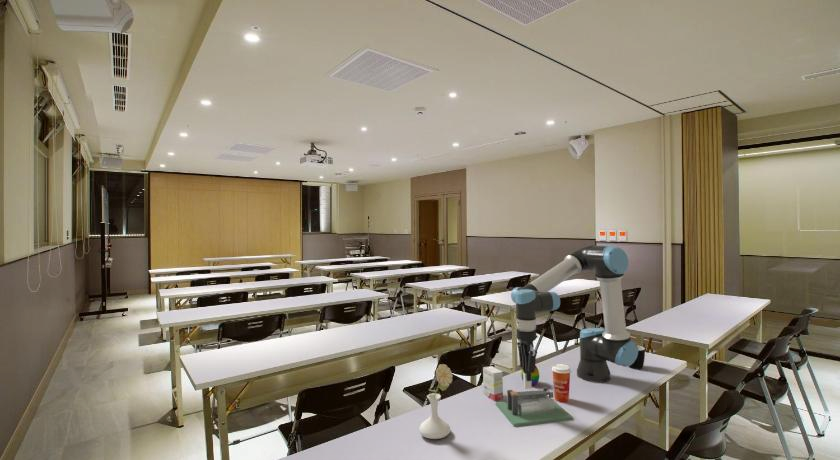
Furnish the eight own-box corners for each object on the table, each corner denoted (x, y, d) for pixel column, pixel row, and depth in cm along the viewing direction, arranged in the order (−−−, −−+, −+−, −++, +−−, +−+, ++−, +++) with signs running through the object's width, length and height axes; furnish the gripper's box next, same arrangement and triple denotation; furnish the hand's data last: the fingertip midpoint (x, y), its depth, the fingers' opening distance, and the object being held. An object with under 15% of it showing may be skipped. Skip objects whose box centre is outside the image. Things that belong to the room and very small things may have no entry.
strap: (547, 392, 162) (547, 388, 162) (551, 395, 158) (551, 392, 158) (509, 394, 158) (509, 391, 158) (512, 398, 155) (512, 394, 155)
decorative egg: (539, 387, 181) (538, 365, 181) (520, 385, 184) (520, 364, 184) (539, 380, 189) (539, 359, 189) (522, 378, 192) (521, 358, 191)
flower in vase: (427, 445, 136) (425, 373, 136) (414, 430, 147) (412, 363, 146) (460, 436, 142) (458, 367, 141) (445, 422, 152) (444, 357, 152)
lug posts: (512, 410, 160) (511, 389, 160) (517, 416, 155) (517, 395, 155) (507, 411, 160) (507, 390, 159) (512, 417, 154) (512, 395, 154)
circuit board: (548, 398, 170) (548, 396, 170) (572, 419, 152) (572, 416, 152) (495, 404, 165) (495, 402, 165) (513, 426, 148) (513, 423, 148)
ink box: (503, 399, 171) (503, 371, 170) (494, 401, 169) (493, 373, 168) (492, 391, 178) (491, 365, 178) (483, 393, 176) (482, 367, 176)
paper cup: (549, 399, 169) (548, 367, 168) (556, 393, 174) (556, 362, 174) (567, 405, 163) (566, 371, 163) (574, 399, 169) (574, 366, 169)
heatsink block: (544, 401, 165) (543, 384, 165) (556, 412, 155) (556, 395, 155) (510, 405, 162) (510, 388, 162) (521, 417, 152) (521, 399, 152)
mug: (648, 367, 202) (648, 347, 202) (639, 371, 197) (639, 351, 197) (625, 361, 212) (625, 342, 212) (616, 364, 207) (615, 345, 207)
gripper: (510, 325, 163) (511, 382, 164) (524, 334, 151) (526, 395, 151) (527, 324, 165) (528, 380, 165) (543, 332, 152) (544, 393, 152)
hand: (527, 387), depth 158 cm, fingers closed
